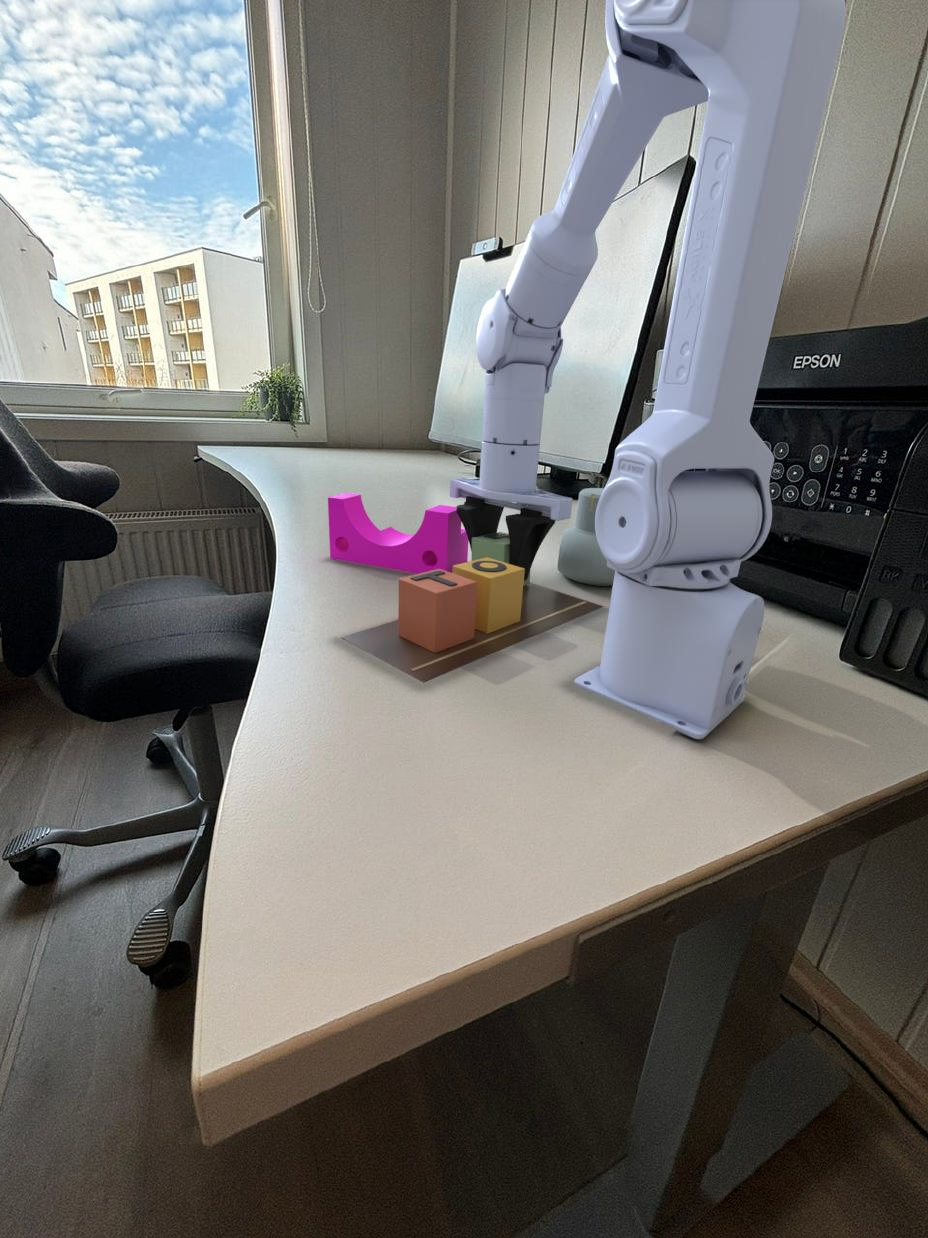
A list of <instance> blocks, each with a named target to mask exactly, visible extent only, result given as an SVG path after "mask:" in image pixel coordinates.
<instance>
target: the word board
mask: <svg viewBox="0 0 928 1238" xmlns="http://www.w3.org/2000/svg"><path fill="white" fill-rule="evenodd" d="M601 608H604V605H601V604H598V603H595V602H592V601H589V600H585V599H582V598H579V597H576V596H573V595H570V594H567V593H563V592H560V591H558V590H554V589H551V588H547V587H545V586H542V585H539V584H535V583H532V582H530V584H528V585H525V586H523V595H522V605H521V616H520V621H519V622H517V623H514V624H512V625H509V626H506V627H504V628H501V629H499V630H496V631H493V632H491V633H488V634H486V633H484V632H481V631H479V630H477V629H475V631H474V639H471V640H468V641H466V642H463V643H461V644H458V645H455V646H453V647H450V648H447V649H445V650H442V651H440V652H437V653H434V652H431V651H429V650H427V649H425V648H423V647H421V646H419V645H417V644H415V643H413V642H411V641H409V640H407V639H405V638H403V637H401V636H399V635H398V619H397V620H393V621H390V622H386V623H383V624H379V625H377V626H374V627H371V628H368V629H363V630H361V631H358V632H354V633H351V634H348V635H344V636H342V637H341V639H342V640H344V641H346V642H348V643H350V644H352V645H353V646H356V647H358V648H359V649H361V650H362V651H364V652H366V653H368V654H369V655H372V656H374V657H375V658H378V659H379V660H381V661H383V662H384V663H387V664H388V665H390V666H392V667H394V668H396V669H398V670H400V671H401V672H403V673H405V674H407V675H409V676H411V677H412V678H414V679H416V680H418V681H420V682H422V683H426V682H429V681H430V680H434V679H436V678H438V677H440V676H442V675H445V674H448V673H449V672H452V671H455V670H457V669H460V668H461V667H464V666H466V665H468V664H471V663H473V662H476V661H478V660H481V659H483V658H486V657H488V656H490V655H493V654H495V653H498V652H499V651H502V650H504V649H506V648H509V647H512V646H514V645H516V644H518V643H521V642H524V641H525V640H528V639H531V638H533V637H535V636H538V635H540V634H541V633H544V632H547V631H549V630H552V629H554V628H556V627H559V626H561V625H563V624H566V623H568V622H570V621H574V620H575V619H578V618H581V617H583V616H585V615H587V614H590V613H592V612H595V611H597V610H599V609H601Z"/></svg>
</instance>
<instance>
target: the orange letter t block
mask: <svg viewBox="0 0 928 1238" xmlns="http://www.w3.org/2000/svg"><path fill="white" fill-rule="evenodd" d="M476 598H477V582H476V581H473V580H470V579H468V578H465V577H462V576H459V575H456V574H453V573H450V572H447V571H444V570H441V569H436V570H432V571H428V572H424V573H420V574H418V573H415V574H412V575H407V576H404V577H400V578H398V613H397V615H398V616H397V617H398V618H397V620H398V635H399V636H401V637H403V638H405V639H407V640H409V641H411V642H413V643H415V644H417V645H419V646H421V647H423V648H425V649H427V650H429V651H431V652H434V653H437V652H440V651H442V650H445V649H447V648H450V647H453V646H455V645H458V644H461V643H463V642H466V641H468V640H471V639H474V631H475V614H476Z"/></svg>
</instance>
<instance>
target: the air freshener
mask: <svg viewBox="0 0 928 1238" xmlns="http://www.w3.org/2000/svg"><path fill="white" fill-rule="evenodd" d="M604 488H605V487H604ZM604 488H603V487H589V488H583V489H581V490H580V491H579V492H578V499H577V506H576V514H575V522H574V525H573V526H570V527H568V528H566V529H564V530H563V532H562V535H561V539H560V545H559V551H558V557H557V571H558V572H559V573H560V574H562V575H563V576H565V577H566V578H568V579H570V580H572V581H574V582H577V583H579V584H580V583H581V584H585V585H588V586H589V585H590V586H597V587H610V586H611V587H613V582H614V575H615V570H613V569H611V568H609V567H607V560H606V559H605V557H604V555H603V553H602V551H601V549H600V546H599V544H598V541H597V537H596V532H595V514H596V508H597V505H598V502H599V499H600V496H601V493H602V492H603V490H604Z"/></svg>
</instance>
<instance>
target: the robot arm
mask: <svg viewBox="0 0 928 1238" xmlns="http://www.w3.org/2000/svg"><path fill="white" fill-rule="evenodd" d="M604 13H605V14H604V16H605V17H604V22H605V23H604V26H605V27H604V29H605V39H606V44H607V49H608V55H607V58H606V61H605V64H604V67H603V69H602V72H601V75H600V78H599V81H598V84H597V86H596V90H595V92H594V94H593V98H592V101H591V104H590V107H589V109H588V113H587V115H586V118H585V121H584V123H583V127H582V129H581V132H580V135H579V138H578V140H577V143H576V147H575V149H574V151H573V155H572V158H571V160H570V164H569V167H568V169H567V172H566V174H565V177H564V179H563V180H564V181H563V183H562V186H561V189H560V191H559V192H560V193H559V195H558V197H557V200H556V203H555V206H554V208H553V209H552V210H549V211H548V212H545V213H544V214H541V215H539V216H538V217H536V218H535V219H534V220H533V222H532V223H531V227H530V228H529V232H528V233H527V236H526V238H525V241H524V244H523V246H522V248H521V251H520V253H519V256H518V258H517V260H516V263H515V265H514V267H513V270H512V272H511V275H510V277H509V280H508V282H507V285H506V287H505V288H503V289H501V288H499V290H497V291H496V293H495V295H494V297H493V298H490V299H489V300H488V301H486V303H485V304H484V306H483V307H482V310H481V314H480V317H479V320H478V324H477V329H476V336H475V337H476V338H475V345H476V346H475V347H476V356H477V360H478V363H479V365H480V367H481V368H482V369H483V370H484V371H485V378H484V395H483V396H484V397H483V412H482V413H483V414H482V429H481V430H482V431H481V447H480V449H481V450H480V465H479V466H480V467H479V479H473V478H466V477H457V478H450V479H449V497H450V498H453V499H465V501H464V502H463V504H458V505H456V507H457V508H456V513H457V514H458V516H459V518H460V520H461V525H462V526H463V529H465V531H466V534H467V537H468V540H469V541H468V545H469V547H470V552H471V553H472V538H473V537H478V536H483V535H487V534H492V533H497V532H498V530H499V525H500V522H501V518H502V515H503V512H504V509H505V508H506V509H511V510H516V511H519V513H514V514H508V515H505V523H506V527H507V532H508V534H509V540H510V564H511V565H514V566H518V567H521V568H524V569H525V573H524V581H525V580H527V578H528V575H529V572H530V573H531V568H532V566H533V563H534V561H535V558H536V556H537V554H538V551H539V549H540V548H541V545H542V543H543V541H544V540H545V538H546V536H547V535H548V533H549V532H550V531H551V529H552V528H553V526H554V525H555V524H556V521H557V522H559V521H566V520H569V519H571V517H572V508H573V498H572V497H568V496H563V495H559V494H556V493H554V492H553V493H552V492H549V491H546V490H543V489H539V488H538V486H537V479H538V470H539V459H540V450H541V449H540V447H541V438H542V426H543V415H544V408H545V407H544V406H545V405H544V404H545V396H546V394H549V393H550V388H551V387H552V386H553V385H552V383H553V375H554V372H555V369H556V367H557V365H558V363H559V360H560V358H561V356H562V355H561V354H562V351H563V345H564V338H562V326H563V324H564V322H565V320H566V318H567V316H568V315H569V313H570V310H571V308H572V307H573V304H574V303H575V301H576V299H577V297H578V295H579V293H580V292H581V290H582V288H583V286H584V284H585V282H586V281H587V279H588V277H589V275H590V273H591V272H592V270H593V268H594V265H595V264H596V262H597V260H598V256H599V248H598V243H597V237H596V231H597V229H598V228H599V226H600V225H601V223H602V221H603V219H604V218H605V216H606V214H607V213H608V211H609V209H610V207H611V206H612V204H613V202H614V201H615V200H616V198H617V196H618V194H619V193H620V191H621V190H622V188H623V186H624V185H625V183H626V181H627V179H628V177H629V176H630V174H631V172H632V171H633V170H634V168H635V166H636V164H637V163H638V161H639V159H640V158H641V156H642V154H643V153H644V151H645V150H646V148H647V146H648V145H649V143H650V141H651V139H652V138H653V136H654V135H655V133H656V131H657V130H658V128H659V126H660V125H661V123H662V122H663V119H664V118H665V117H667V116H671V115H673V114H676V113H679V112H681V111H684V110H687V109H689V108H692V107H696V106H698V105H701V104H704V103H706V102H707V104H706V109H705V116H704V121H703V126H702V132H701V138H700V143H699V149H698V154H697V161H696V166H695V171H694V177H693V183H692V188H691V194H690V201H689V206H688V211H687V217H686V218H687V219H686V223H685V229H684V234H683V240H682V245H681V251H680V257H679V261H678V268H677V274H676V280H675V285H674V290H673V297H672V301H671V307H670V313H669V320H668V325H667V331H666V336H665V340H664V341H665V342H664V347H663V352H662V358H661V364H660V368H659V369H660V370H659V376H658V381H657V387H656V392H655V398H654V403H653V409H652V413H651V415H650V416H649V417H648V418H647V419H646V420H645V421H644V422H643V423H642V424H641V425H639V426H638V427H636V429H634V430H633V431H632V432H631V433H629V435H627V436H626V438H624V439H623V440H622V441H620V443H619V444H618V445H617V447H616V448H615V450H614V456H613V457H614V458H613V463H612V468H611V471H610V475H609V477H608V479H607V482H606V484H605V486H604V490H603V492H602V493H601V496H600V499H599V502H598V505H597V508H596V514H595V532H596V537H597V541H598V544H599V546H600V549H601V551H602V553H603V555H604V557H605V559H606V560H607V567H609V568H611V569H613V570H615V575H614V582H613V586H612V588H611V595H610V601H609V606H608V607H609V609H608V615H607V622H606V626H605V627H606V628H605V633H604V641H603V646H602V647H603V648H602V653H601V659H600V664H599V665H597V666H596V667H594V668H592V669H590V670H588V671H587V672H585V673H583V674H581V675H579V676H577V677H576V678H574V681H573V684H574V685H575V686H577V687H579V688H581V689H584V690H586V691H587V692H590V693H593V694H595V695H597V696H600V697H602V698H605V699H607V700H608V701H611V702H614V703H616V704H618V705H620V706H623V707H625V708H627V709H629V710H632V711H634V712H637V713H638V714H641V715H643V716H645V717H647V718H650V719H652V720H655V721H657V722H659V723H662V724H664V725H666V726H668V727H671V728H673V729H676V730H675V731H676V732H678V733H681V734H682V735H685V736H687V737H690V738H691V739H695V740H702V739H705V738H706V737H707V736H708V735H709V734H710V733H711V732H712V731H713V730H714V729H715V728H716V727H717V726H718V725H719V724H721V723H722V722H723V721H724V720H725V719H727V717H728V716H729V715H730V714H731V713H732V712H733V711H734V710H736V709H737V708H738V707H739V706H740V705H741V704H742V703H743V702H744V701H745V700H746V693H745V690H746V686H747V683H748V679H749V676H750V671H751V667H752V663H753V660H754V656H755V653H756V649H757V646H758V642H759V639H760V638H759V637H760V634H761V630H762V626H763V621H764V615H765V601H764V598H763V597H761V596H760V595H758V594H755V593H752V592H749V591H746V590H744V589H742V588H739V587H738V586H736V585H735V584H733V583H732V582H731V579H733V578H737V577H738V576H739V571H740V567H741V563H742V562H744V561H746V560H749V559H750V558H751V557H752V556H754V555H755V554H756V553H757V552H758V551H759V550H760V549H761V547H762V546H763V544H764V543H765V541H766V540H767V538H768V535H769V533H770V529H771V526H772V520H773V505H772V499H771V494H770V482H771V475H772V469H773V466H774V463H775V455H774V454H773V452H772V450H770V448H769V447H768V446H767V444H766V443H765V442H764V441H763V439H762V438H761V437H760V435H759V434H758V433H757V432H756V430H755V429H754V428H753V426H752V424H751V417H752V412H753V408H754V403H755V399H756V396H757V392H758V389H759V388H758V387H759V384H760V379H761V375H762V371H763V367H764V362H765V358H766V354H767V350H768V347H769V346H768V345H769V342H770V339H771V338H770V337H771V333H772V329H773V325H774V321H775V317H776V312H777V309H778V306H779V305H778V304H779V301H780V296H781V292H782V288H783V284H784V279H785V275H786V271H787V267H788V263H789V259H790V255H791V251H792V246H793V242H794V239H795V235H796V234H795V233H796V230H797V226H798V221H799V218H800V213H801V209H802V206H803V201H804V198H805V197H804V196H805V192H806V188H807V184H808V180H809V176H810V172H811V167H812V163H813V159H814V155H815V151H816V148H817V147H816V146H817V142H818V138H819V135H820V131H821V126H822V122H823V118H824V113H825V110H826V106H827V102H828V97H829V93H830V89H831V86H832V81H833V76H834V72H835V68H836V63H837V60H838V56H839V52H840V51H839V50H840V48H841V44H842V39H843V35H844V29H845V23H846V16H847V5H846V0H605V12H604ZM694 469H695V470H694ZM698 469H699V470H698ZM702 469H703V470H702Z"/></svg>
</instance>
